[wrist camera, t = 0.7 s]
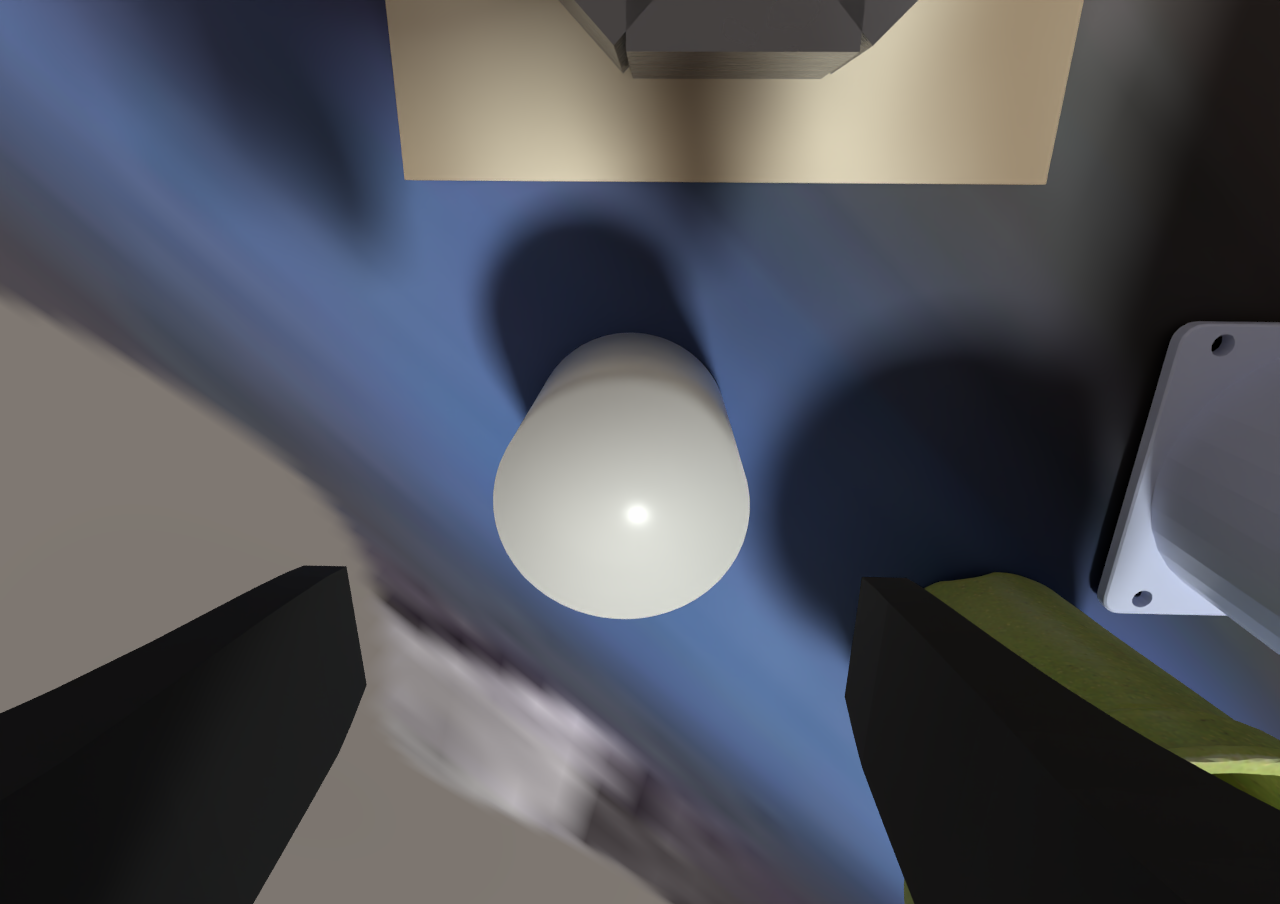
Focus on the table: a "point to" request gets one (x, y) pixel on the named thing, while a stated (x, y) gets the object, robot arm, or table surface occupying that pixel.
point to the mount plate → (730, 102)
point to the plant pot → (1114, 679)
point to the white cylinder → (624, 481)
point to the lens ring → (735, 35)
